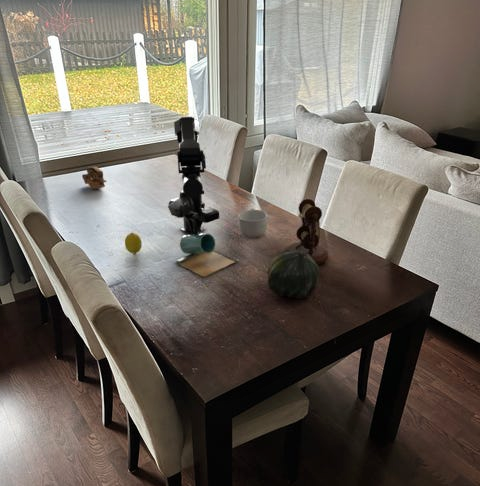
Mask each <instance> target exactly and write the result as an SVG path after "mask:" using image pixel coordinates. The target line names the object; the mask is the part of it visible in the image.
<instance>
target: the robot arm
mask: <svg viewBox="0 0 480 486" xmlns="http://www.w3.org/2000/svg"><path fill="white" fill-rule="evenodd" d="M173 127H174V136H176V139H177V143H178V148H179V149H178V150H176V153H177V154H176V155H177V168H178V174H181V183H182V190H180V191H179V197H176V198H173V199H170V200H169V202H168V205H167V208H168V210H169V212H170V215H171V216H172V217H173V216H174V217H176V218H177V219H180V218H181V219H182V218H183V219H182V220H183V227H182V228H180V230H181V231H182V232H184V233H187V234H188V235H191V234H194V235H197V234H199V233H200V232H202V231H205V229H204V227H202V225H203V223H204V224H208V223H211V222H214V221H216V220H219V219H220V211H219V210H218V209H216V208H212V207H207V208H205V206H206V203H205V202H203V195H204V194H205V190H204V186H203V181H202V175H201V174H202V173H205V169H207V165H206V164H207V163H206V154H205V152H204V150H203V149H201V144H200V143H199V142H198V136H200V122H199V120H196V119H195V116H180V117H178V119H177V120H175V121H173Z"/></svg>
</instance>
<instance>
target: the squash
mask: <svg viewBox="0 0 480 486" xmlns="http://www.w3.org/2000/svg"><path fill="white" fill-rule="evenodd" d="M318 265H319V264H316V263H315V261H314V260H313V259H312V257H311V256H310V255H309V254H307V253H305V252H303V251H291V252H286V253H284V252H283V253H281V254H279V255H277V256H276V257H274V258H273V259H272V260H271V262H269V265H268V268H267V285H268V287H269V289H270V290H271V291H272V292H273V293H276V294H278V295H279V296H281V297H285V296H286V297H288V298H294V299H297V300H303V299H304V298H306V297H308V296H310V295H312V293H314V292H315V291H316V288H317V285H318V281H319V278H320V268H319V266H318Z"/></svg>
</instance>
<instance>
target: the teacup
mask: <svg viewBox="0 0 480 486" xmlns="http://www.w3.org/2000/svg"><path fill="white" fill-rule="evenodd" d="M237 217H238V218H237V219H238V228H239V231H240V233H241V234H243V235H244V236H246V237H248V238H258V237H261V236H263V234H265V233H266V231H267V229H268V217H269V215H268V213H267V211H264V210H261V209H255V208H254V207H252V208H250V209H248V210H247V209H246V210H243V211H242V212H241V211H240V213H239V214H238V215H237Z"/></svg>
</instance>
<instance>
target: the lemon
mask: <svg viewBox="0 0 480 486" xmlns="http://www.w3.org/2000/svg"><path fill="white" fill-rule="evenodd" d="M142 243H143V242H142V238H141V237H140V235H138V234H137V233H136V232H130V233H128V234H127V235H126V236H125V239H124V246H125V249H126V250H127V252H129V253H130V254H133V255H136V254H137V253H139V252H140V251H141V250H142Z"/></svg>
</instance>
